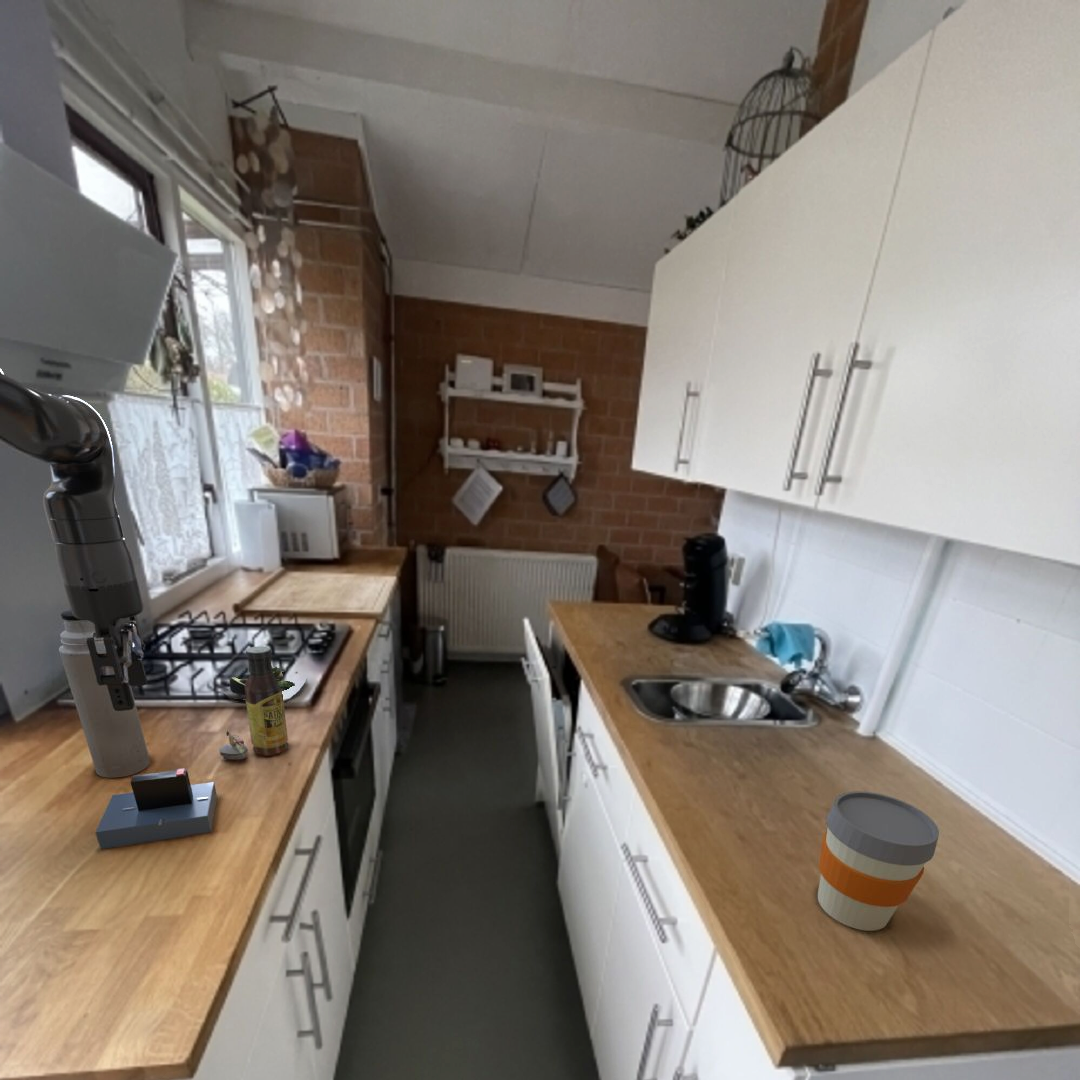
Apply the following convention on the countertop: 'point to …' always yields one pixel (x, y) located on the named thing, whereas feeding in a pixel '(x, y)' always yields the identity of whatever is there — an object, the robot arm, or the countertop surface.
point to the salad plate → (239, 684)
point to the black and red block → (162, 789)
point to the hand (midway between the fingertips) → (132, 696)
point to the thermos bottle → (100, 707)
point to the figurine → (233, 748)
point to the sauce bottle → (264, 704)
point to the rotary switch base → (156, 819)
